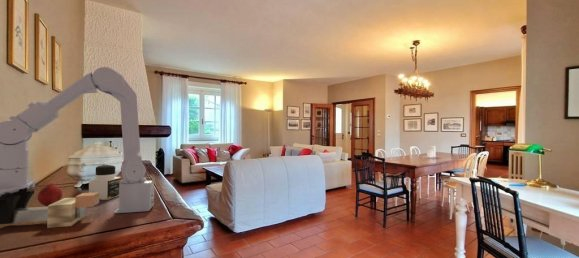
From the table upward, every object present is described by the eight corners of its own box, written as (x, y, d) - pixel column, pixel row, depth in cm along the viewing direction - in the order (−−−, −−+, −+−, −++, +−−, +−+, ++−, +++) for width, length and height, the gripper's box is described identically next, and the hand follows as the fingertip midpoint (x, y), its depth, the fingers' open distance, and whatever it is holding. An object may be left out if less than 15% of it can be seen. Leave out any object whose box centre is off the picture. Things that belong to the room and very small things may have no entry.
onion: (46, 210, 80) (47, 184, 80) (32, 209, 81) (33, 183, 81) (66, 205, 85) (67, 181, 86) (52, 204, 87) (53, 180, 87)
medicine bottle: (107, 200, 93) (108, 166, 93) (88, 199, 93) (88, 166, 93) (120, 195, 100) (121, 164, 100) (102, 195, 100) (103, 164, 100)
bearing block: (85, 216, 74) (85, 196, 74) (71, 225, 67) (71, 204, 67) (64, 218, 73) (64, 198, 73) (47, 227, 65) (47, 205, 65)
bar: (85, 215, 72) (85, 203, 72) (80, 218, 69) (80, 206, 69) (18, 219, 68) (19, 207, 68) (9, 224, 65) (10, 211, 65)
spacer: (99, 202, 74) (99, 192, 74) (92, 206, 70) (93, 195, 70) (82, 203, 72) (82, 193, 73) (75, 207, 69) (75, 196, 69)
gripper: (13, 165, 72) (12, 214, 72) (-34, 172, 58) (-35, 233, 58) (44, 164, 74) (43, 211, 74) (6, 171, 60) (5, 230, 60)
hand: (11, 221), depth 66 cm, fingers closed on bar, 3 cm apart
